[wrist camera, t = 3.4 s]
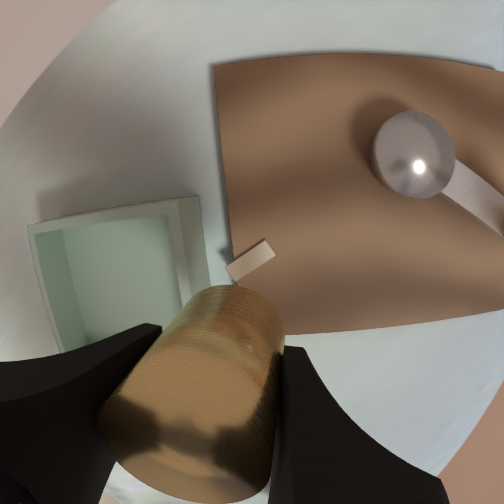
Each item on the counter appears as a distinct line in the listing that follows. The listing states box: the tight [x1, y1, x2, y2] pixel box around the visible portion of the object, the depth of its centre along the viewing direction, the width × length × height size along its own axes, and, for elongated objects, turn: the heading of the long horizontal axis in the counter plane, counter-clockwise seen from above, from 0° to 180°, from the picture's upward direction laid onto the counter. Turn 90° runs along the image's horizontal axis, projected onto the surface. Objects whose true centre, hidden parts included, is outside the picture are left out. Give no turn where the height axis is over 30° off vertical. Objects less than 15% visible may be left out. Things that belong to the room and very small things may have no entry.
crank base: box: [214, 54, 504, 335], centre depth 16 cm, size 16×20×1 cm
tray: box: [27, 196, 211, 353], centre depth 19 cm, size 11×11×4 cm
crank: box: [369, 111, 504, 242], centre depth 12 cm, size 11×4×6 cm, turn 66°
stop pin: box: [98, 285, 285, 504], centre depth 9 cm, size 4×4×6 cm
